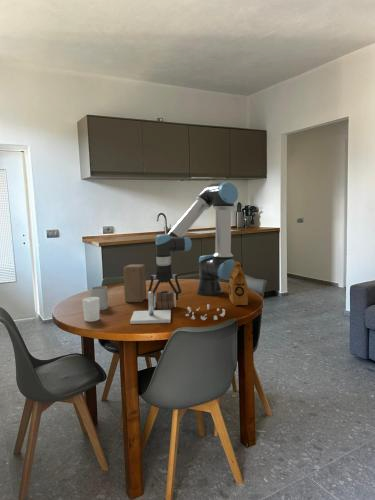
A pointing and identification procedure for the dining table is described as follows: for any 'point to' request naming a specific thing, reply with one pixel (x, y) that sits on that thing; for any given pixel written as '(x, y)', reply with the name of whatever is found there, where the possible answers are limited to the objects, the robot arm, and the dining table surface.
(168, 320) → the white flat block
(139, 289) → the wooden block
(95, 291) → the mug
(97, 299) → the white cup
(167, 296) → the walnut bead
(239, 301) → the coffee package
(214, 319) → the game piece set
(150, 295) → the post
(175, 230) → the robot arm
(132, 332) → the dining table surface
